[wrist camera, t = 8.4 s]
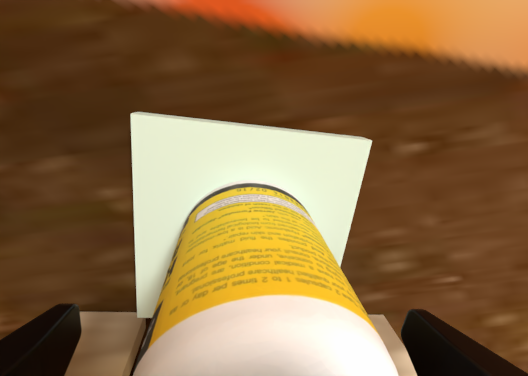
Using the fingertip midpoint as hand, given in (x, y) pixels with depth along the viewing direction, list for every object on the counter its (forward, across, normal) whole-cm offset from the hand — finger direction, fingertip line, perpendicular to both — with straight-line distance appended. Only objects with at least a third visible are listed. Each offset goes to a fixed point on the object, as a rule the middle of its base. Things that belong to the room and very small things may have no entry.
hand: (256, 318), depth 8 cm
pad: (+5, 0, 0) cm, 5 cm away
